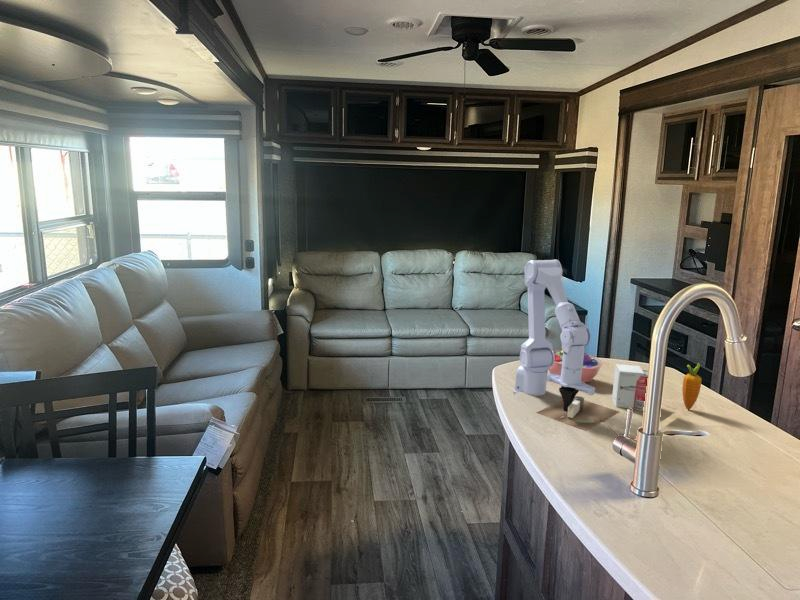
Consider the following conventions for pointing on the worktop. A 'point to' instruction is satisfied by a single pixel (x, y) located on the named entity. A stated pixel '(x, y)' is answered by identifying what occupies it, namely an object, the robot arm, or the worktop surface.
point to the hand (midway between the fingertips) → (567, 410)
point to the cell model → (588, 369)
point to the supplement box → (625, 385)
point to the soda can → (640, 391)
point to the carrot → (691, 387)
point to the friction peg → (575, 406)
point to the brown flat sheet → (579, 415)
